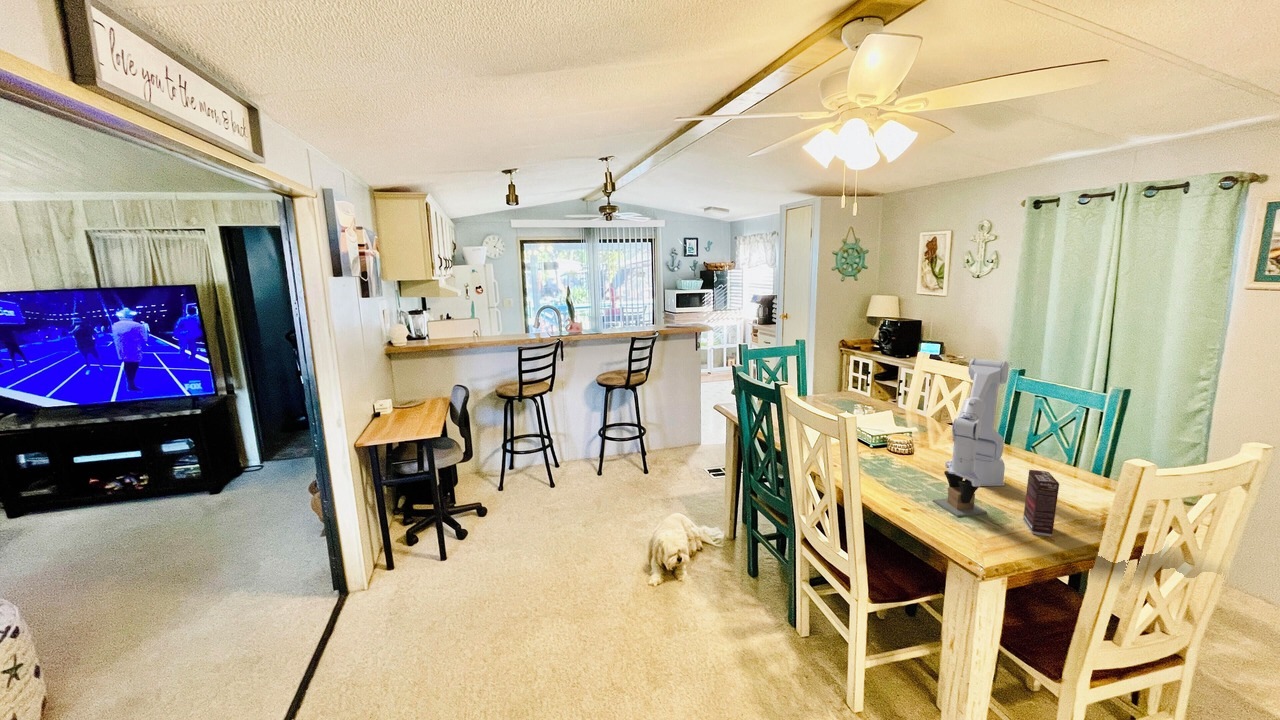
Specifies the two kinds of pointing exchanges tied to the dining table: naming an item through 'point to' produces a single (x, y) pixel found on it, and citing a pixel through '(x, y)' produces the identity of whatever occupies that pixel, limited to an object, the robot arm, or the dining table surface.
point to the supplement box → (1040, 502)
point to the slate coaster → (961, 512)
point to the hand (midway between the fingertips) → (960, 498)
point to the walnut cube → (958, 499)
